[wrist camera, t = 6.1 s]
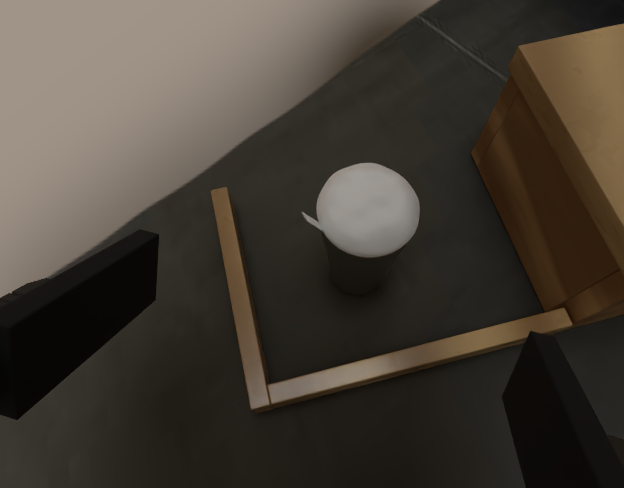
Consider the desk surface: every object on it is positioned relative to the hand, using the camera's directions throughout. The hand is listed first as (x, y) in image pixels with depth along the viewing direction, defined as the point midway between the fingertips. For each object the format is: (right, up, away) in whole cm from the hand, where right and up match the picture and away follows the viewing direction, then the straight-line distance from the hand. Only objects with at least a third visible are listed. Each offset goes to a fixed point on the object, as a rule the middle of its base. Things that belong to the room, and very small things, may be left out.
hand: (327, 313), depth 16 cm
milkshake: (+2, 0, +12) cm, 12 cm away
